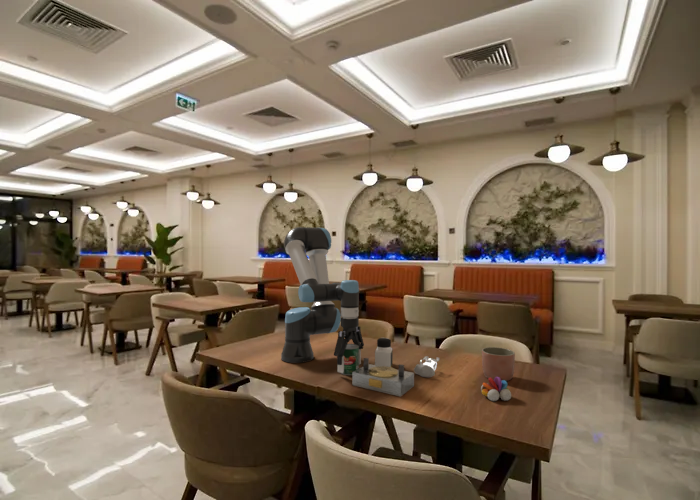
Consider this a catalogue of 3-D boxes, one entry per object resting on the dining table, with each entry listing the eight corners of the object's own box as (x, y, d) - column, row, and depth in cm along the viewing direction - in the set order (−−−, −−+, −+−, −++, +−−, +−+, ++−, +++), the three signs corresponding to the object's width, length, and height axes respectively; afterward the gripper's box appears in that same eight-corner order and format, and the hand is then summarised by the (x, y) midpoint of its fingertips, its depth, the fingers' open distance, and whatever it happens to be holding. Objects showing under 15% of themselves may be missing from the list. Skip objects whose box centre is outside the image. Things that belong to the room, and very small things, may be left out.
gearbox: (351, 385, 141) (351, 361, 141) (368, 376, 151) (368, 354, 151) (399, 397, 130) (400, 371, 130) (413, 386, 141) (414, 362, 141)
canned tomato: (341, 375, 152) (341, 348, 152) (338, 369, 160) (339, 344, 159) (360, 374, 153) (360, 348, 153) (357, 368, 161) (357, 343, 161)
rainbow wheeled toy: (477, 393, 134) (477, 373, 134) (502, 392, 135) (503, 372, 135) (487, 403, 126) (488, 381, 126) (515, 402, 127) (515, 381, 127)
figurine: (410, 364, 153) (423, 353, 162) (412, 379, 153) (425, 367, 163) (431, 367, 147) (443, 355, 157) (433, 382, 148) (445, 369, 157)
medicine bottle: (391, 368, 161) (391, 341, 161) (374, 367, 163) (374, 340, 163) (392, 363, 168) (392, 337, 168) (376, 362, 170) (377, 336, 170)
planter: (475, 375, 154) (475, 348, 153) (498, 371, 158) (498, 345, 158) (497, 385, 142) (497, 356, 142) (521, 381, 147) (521, 353, 147)
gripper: (340, 322, 144) (340, 378, 144) (371, 313, 165) (371, 362, 165) (325, 320, 148) (324, 374, 148) (357, 312, 169) (357, 359, 169)
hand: (349, 368), depth 156 cm, fingers open, 12 cm apart
